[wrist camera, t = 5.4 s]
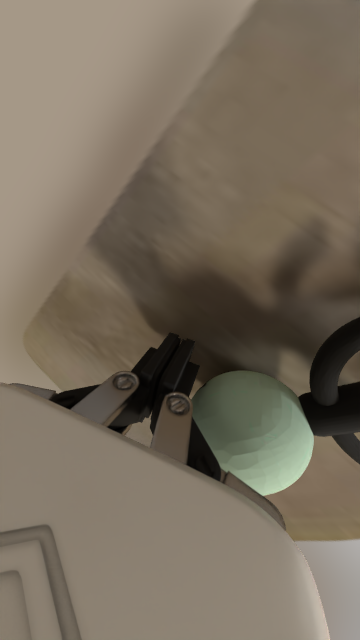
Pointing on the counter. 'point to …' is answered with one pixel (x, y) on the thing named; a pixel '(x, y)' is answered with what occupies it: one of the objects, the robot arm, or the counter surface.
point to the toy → (280, 416)
